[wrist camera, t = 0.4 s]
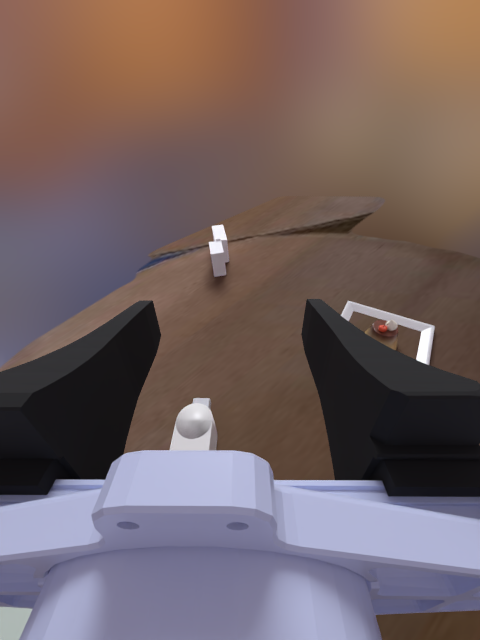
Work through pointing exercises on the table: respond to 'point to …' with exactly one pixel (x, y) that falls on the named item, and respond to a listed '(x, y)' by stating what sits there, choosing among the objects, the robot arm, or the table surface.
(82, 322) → the table surface
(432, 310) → the table surface
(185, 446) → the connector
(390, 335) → the dessert
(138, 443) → the table surface
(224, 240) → the white upright tiles
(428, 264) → the table surface
